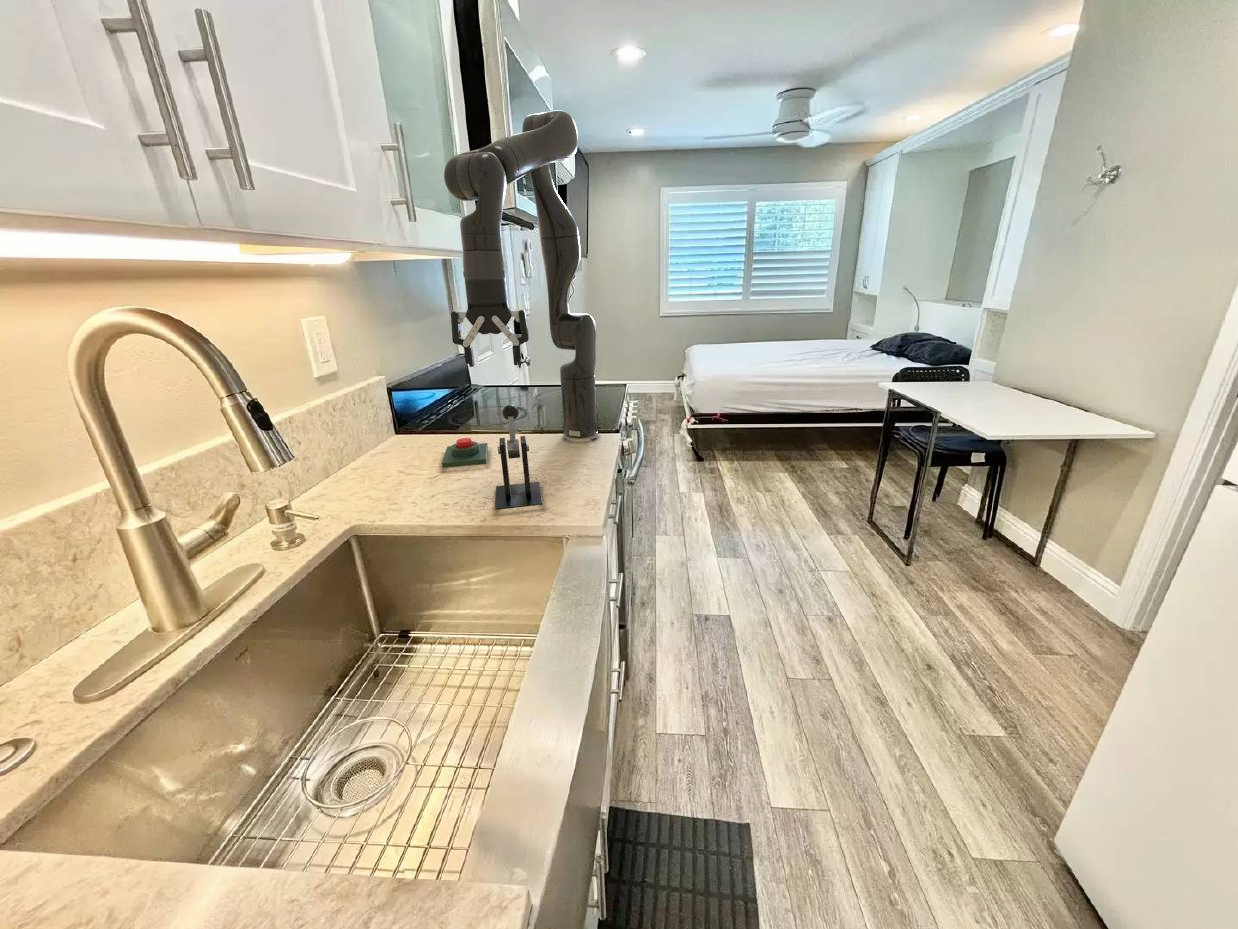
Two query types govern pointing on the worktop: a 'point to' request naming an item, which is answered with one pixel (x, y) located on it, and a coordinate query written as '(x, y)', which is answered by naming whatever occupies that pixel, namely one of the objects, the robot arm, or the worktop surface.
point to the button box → (465, 455)
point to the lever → (512, 431)
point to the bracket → (516, 492)
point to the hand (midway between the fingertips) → (494, 365)
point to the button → (464, 443)
